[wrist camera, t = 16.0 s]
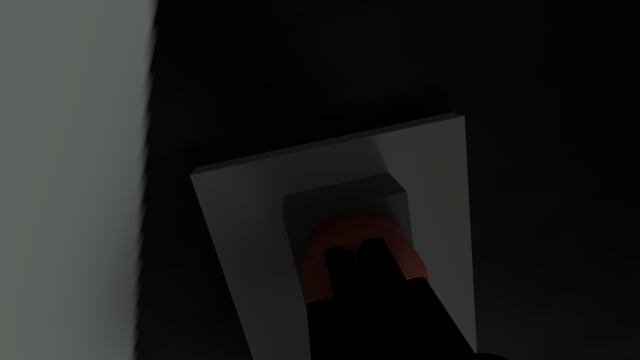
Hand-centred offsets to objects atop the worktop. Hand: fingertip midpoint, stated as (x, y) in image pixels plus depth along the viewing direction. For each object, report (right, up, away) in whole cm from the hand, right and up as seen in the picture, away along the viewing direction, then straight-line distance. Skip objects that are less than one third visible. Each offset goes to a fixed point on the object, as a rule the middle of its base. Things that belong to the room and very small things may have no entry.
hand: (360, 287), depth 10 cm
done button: (0, 0, +2) cm, 2 cm away
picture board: (+1, -4, +7) cm, 8 cm away
